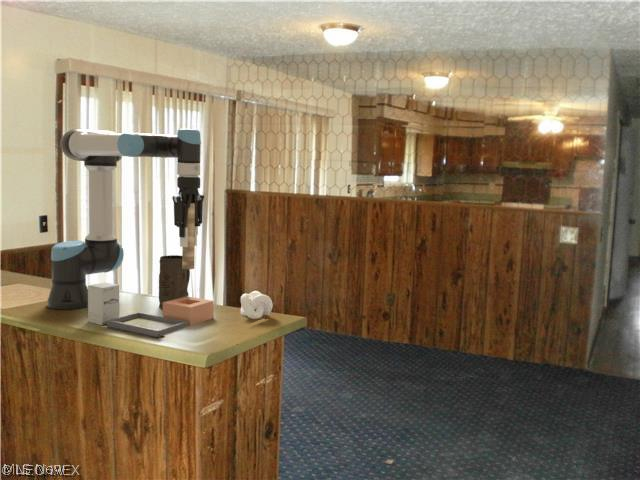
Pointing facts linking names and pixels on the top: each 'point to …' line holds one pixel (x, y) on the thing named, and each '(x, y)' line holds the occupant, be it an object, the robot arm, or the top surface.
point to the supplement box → (103, 302)
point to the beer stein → (172, 279)
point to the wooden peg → (189, 240)
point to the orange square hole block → (189, 309)
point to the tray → (144, 331)
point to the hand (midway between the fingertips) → (188, 245)
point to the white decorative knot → (255, 305)
